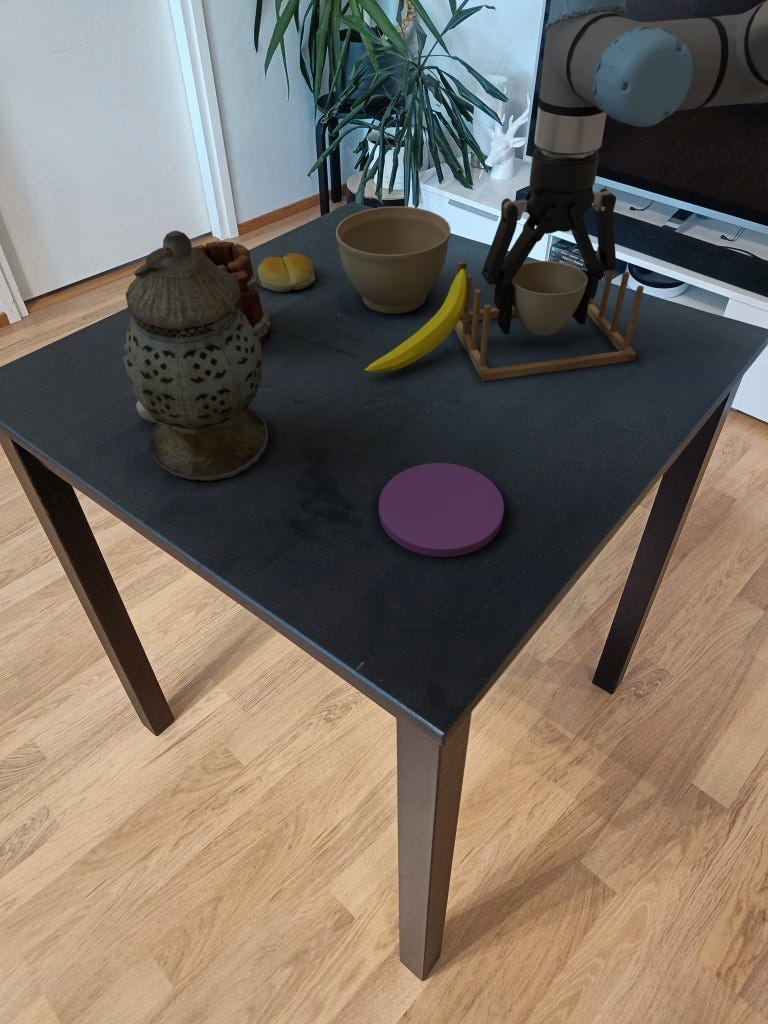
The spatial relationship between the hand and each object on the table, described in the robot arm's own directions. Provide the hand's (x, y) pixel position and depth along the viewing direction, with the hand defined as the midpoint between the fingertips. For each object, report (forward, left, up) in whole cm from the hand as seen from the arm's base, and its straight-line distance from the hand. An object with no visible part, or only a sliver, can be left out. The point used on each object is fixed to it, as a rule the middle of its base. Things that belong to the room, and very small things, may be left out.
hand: (541, 324), depth 97 cm
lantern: (-12, +46, -2) cm, 47 cm away
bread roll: (+26, +32, -3) cm, 41 cm away
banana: (-1, +15, -1) cm, 15 cm away
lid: (-30, +22, -3) cm, 37 cm away
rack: (0, 0, -3) cm, 3 cm away
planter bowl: (+16, +17, -3) cm, 24 cm away
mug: (+10, +41, -3) cm, 42 cm away
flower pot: (0, 0, 0) cm, 0 cm away
